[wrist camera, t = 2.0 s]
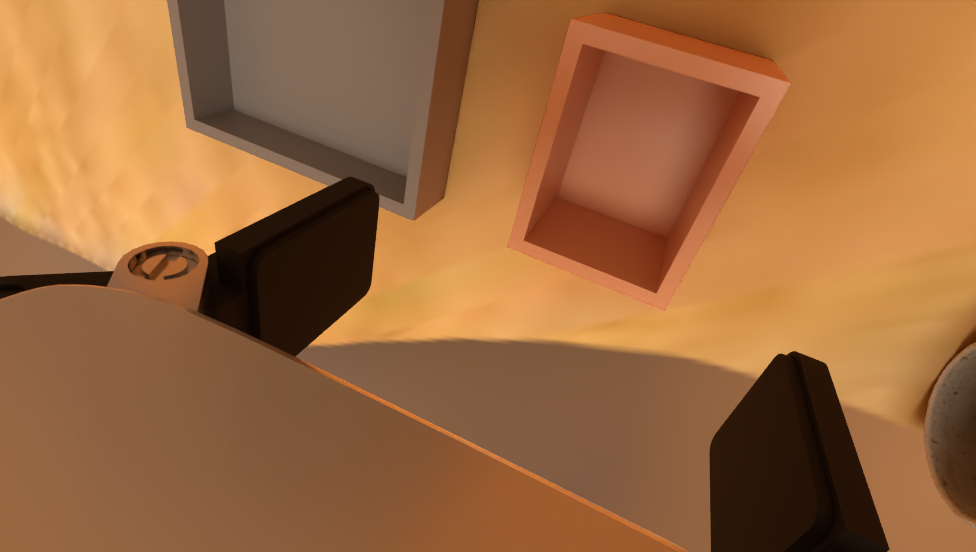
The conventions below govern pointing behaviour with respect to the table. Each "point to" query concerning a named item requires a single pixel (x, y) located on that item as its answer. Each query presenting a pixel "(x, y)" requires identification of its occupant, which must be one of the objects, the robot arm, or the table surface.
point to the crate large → (331, 86)
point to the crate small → (640, 152)
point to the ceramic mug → (954, 435)
